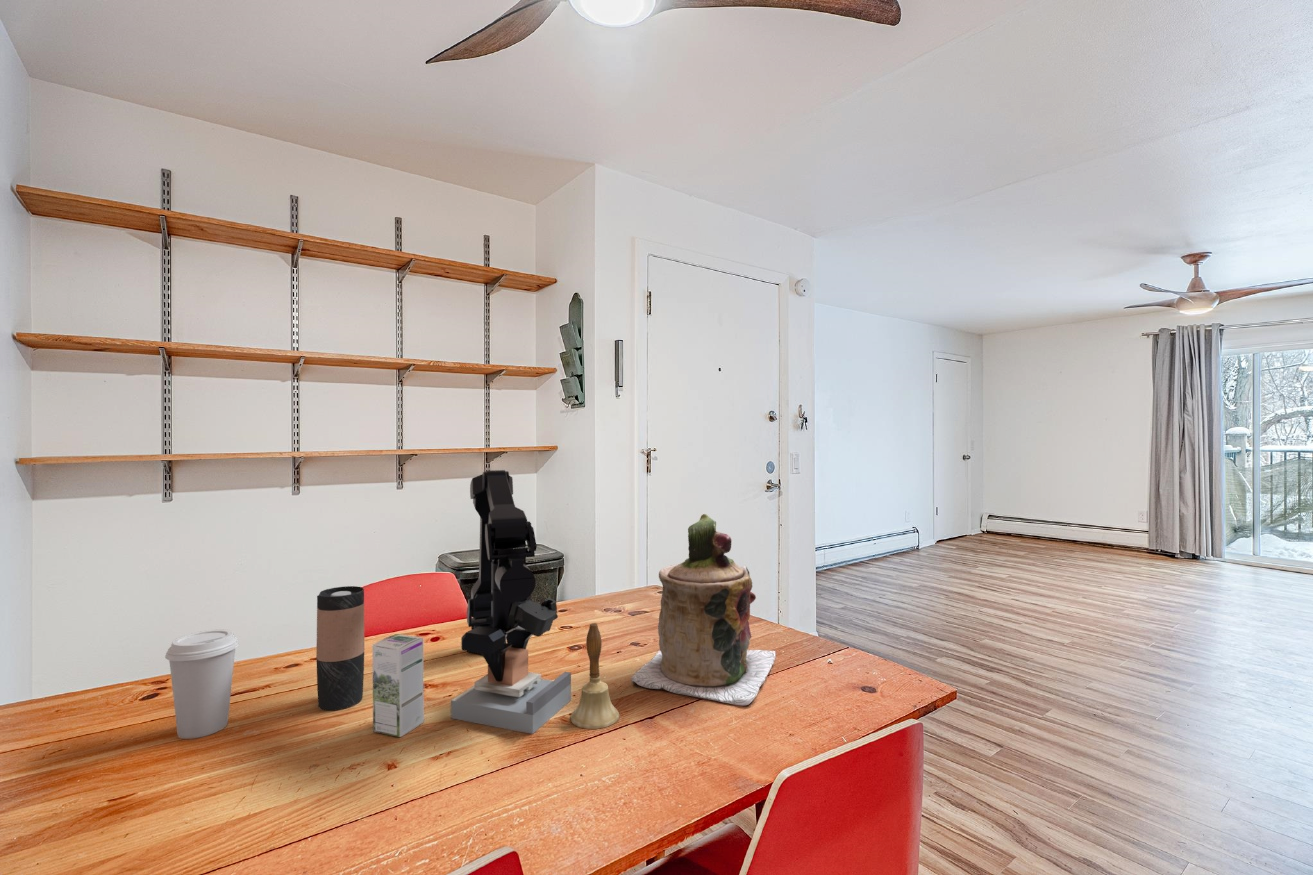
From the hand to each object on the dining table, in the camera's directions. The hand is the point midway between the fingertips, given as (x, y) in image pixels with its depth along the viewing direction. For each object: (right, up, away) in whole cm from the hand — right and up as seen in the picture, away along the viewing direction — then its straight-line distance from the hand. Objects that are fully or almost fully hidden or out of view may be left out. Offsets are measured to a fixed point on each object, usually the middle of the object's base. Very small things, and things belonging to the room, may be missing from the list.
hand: (508, 675), depth 103 cm
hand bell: (+16, -6, -4) cm, 17 cm away
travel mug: (-31, -6, +2) cm, 32 cm away
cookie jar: (+37, -6, +15) cm, 40 cm away
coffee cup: (-48, -6, -7) cm, 49 cm away
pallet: (0, -2, 0) cm, 2 cm away
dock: (+1, -6, 0) cm, 6 cm away
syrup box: (-16, -6, -7) cm, 19 cm away
